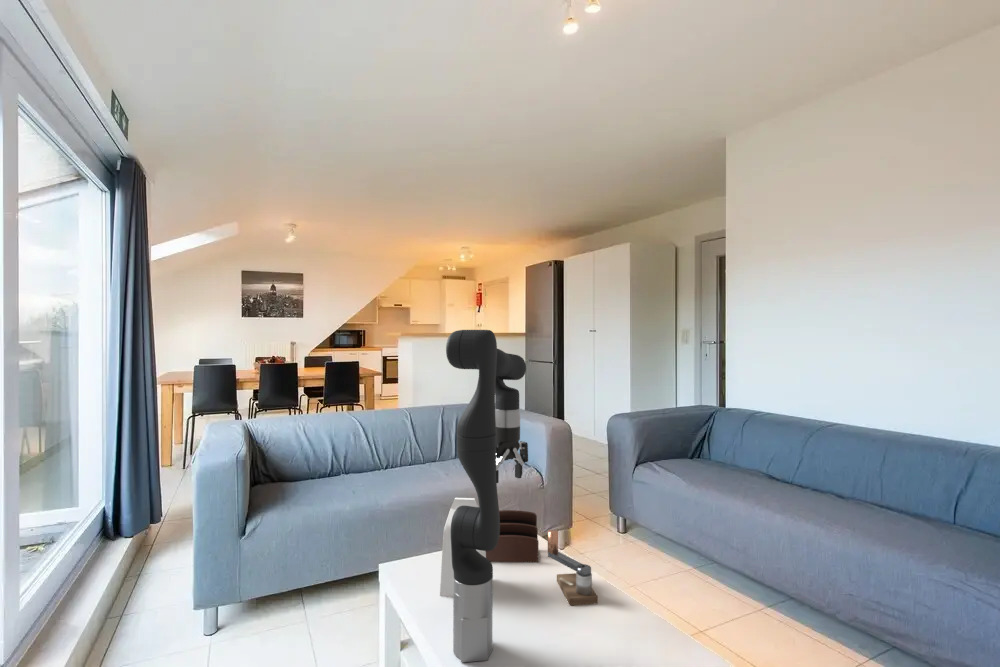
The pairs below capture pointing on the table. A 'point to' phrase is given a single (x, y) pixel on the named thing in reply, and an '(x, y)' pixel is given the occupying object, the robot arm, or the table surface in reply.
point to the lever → (563, 559)
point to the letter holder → (516, 538)
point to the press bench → (572, 593)
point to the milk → (446, 567)
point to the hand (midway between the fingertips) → (506, 480)
